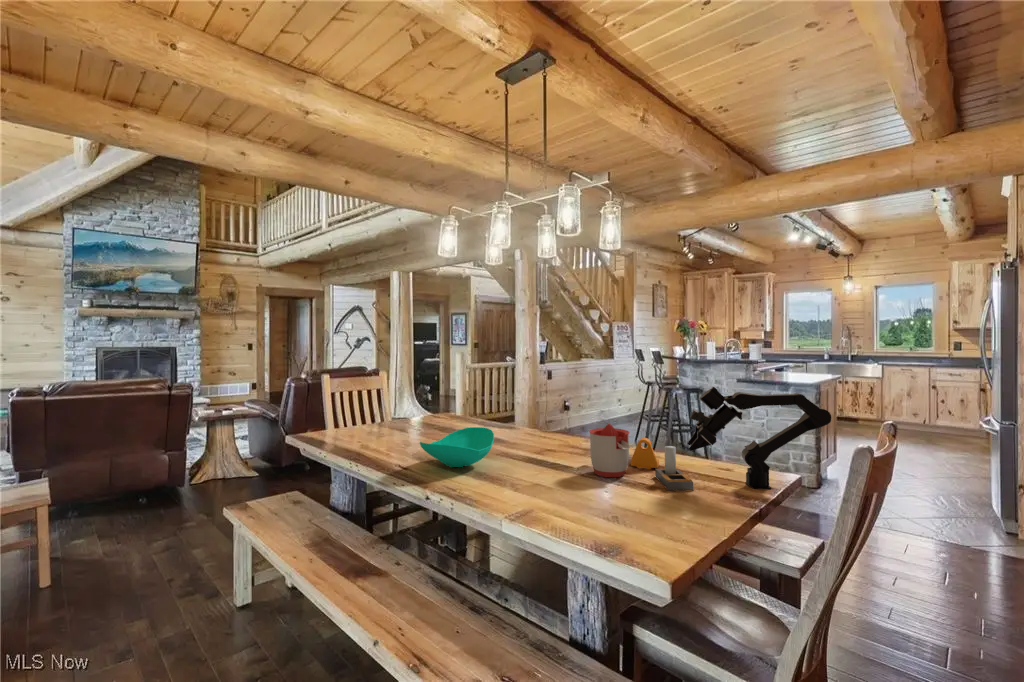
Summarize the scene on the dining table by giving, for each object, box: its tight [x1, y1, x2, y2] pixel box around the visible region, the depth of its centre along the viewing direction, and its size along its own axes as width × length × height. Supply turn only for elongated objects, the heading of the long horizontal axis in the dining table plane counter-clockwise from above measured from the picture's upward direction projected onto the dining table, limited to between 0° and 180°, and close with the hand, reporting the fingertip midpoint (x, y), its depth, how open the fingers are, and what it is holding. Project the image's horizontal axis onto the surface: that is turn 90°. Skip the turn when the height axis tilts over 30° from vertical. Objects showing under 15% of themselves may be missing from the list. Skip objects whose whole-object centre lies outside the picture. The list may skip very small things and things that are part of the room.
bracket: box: [630, 437, 660, 470], centre depth 198 cm, size 11×7×12 cm, turn 68°
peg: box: [664, 445, 677, 474], centre depth 178 cm, size 4×4×12 cm
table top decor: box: [419, 426, 495, 468], centre depth 203 cm, size 40×28×13 cm
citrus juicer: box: [588, 423, 630, 478], centre depth 187 cm, size 16×17×20 cm
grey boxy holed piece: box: [654, 468, 694, 491], centre depth 175 cm, size 9×17×3 cm, turn 177°
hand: (688, 447), depth 176 cm, fingers open, 9 cm apart
